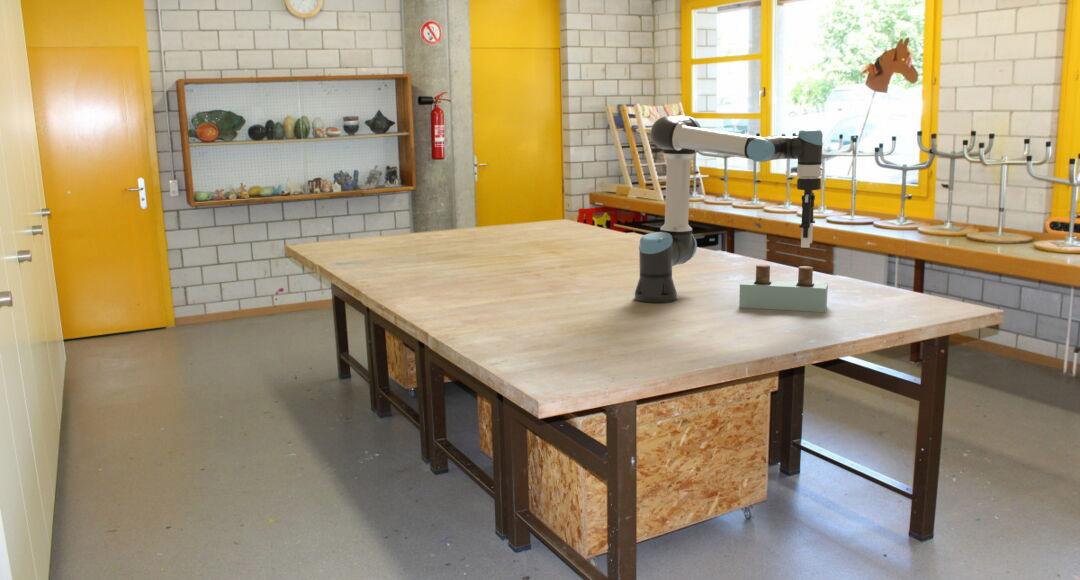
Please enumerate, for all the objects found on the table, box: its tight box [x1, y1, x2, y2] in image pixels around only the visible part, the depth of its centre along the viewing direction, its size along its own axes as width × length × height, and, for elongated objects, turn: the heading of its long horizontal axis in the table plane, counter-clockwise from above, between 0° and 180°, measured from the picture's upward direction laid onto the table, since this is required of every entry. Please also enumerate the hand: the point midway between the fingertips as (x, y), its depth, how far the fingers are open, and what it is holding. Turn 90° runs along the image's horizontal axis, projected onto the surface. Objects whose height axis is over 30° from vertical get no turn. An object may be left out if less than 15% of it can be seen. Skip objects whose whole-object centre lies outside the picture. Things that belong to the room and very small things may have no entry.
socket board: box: [738, 279, 829, 313], centre depth 304 cm, size 28×9×8 cm, turn 69°
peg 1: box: [755, 264, 771, 285], centre depth 305 cm, size 5×5×8 cm
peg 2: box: [797, 265, 814, 287], centre depth 300 cm, size 5×5×8 cm
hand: (806, 245), depth 298 cm, fingers open, 9 cm apart
